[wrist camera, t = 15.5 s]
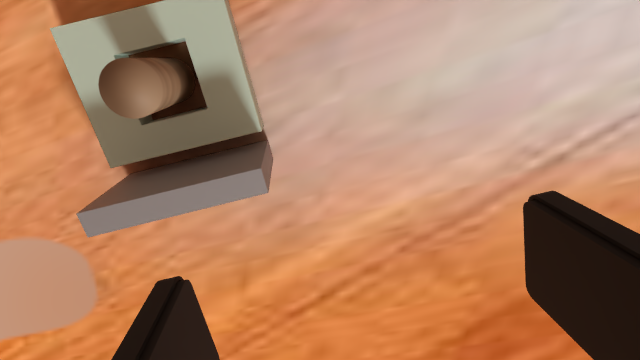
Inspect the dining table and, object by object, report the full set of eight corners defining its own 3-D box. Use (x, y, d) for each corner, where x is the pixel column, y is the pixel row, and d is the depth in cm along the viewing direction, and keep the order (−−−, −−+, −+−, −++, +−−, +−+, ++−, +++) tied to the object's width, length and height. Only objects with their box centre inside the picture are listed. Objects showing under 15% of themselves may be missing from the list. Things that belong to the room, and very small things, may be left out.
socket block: (226, -8, 33) (220, -14, 30) (263, 125, 37) (261, 131, 34) (70, 31, 33) (49, 28, 30) (124, 159, 37) (110, 168, 34)
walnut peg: (186, 53, 34) (147, 51, 25) (201, 96, 35) (169, 111, 26) (143, 63, 34) (88, 65, 25) (159, 106, 35) (112, 124, 26)
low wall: (267, 139, 37) (260, 168, 28) (273, 158, 38) (268, 192, 28) (130, 173, 37) (76, 213, 28) (138, 192, 38) (87, 237, 28)
